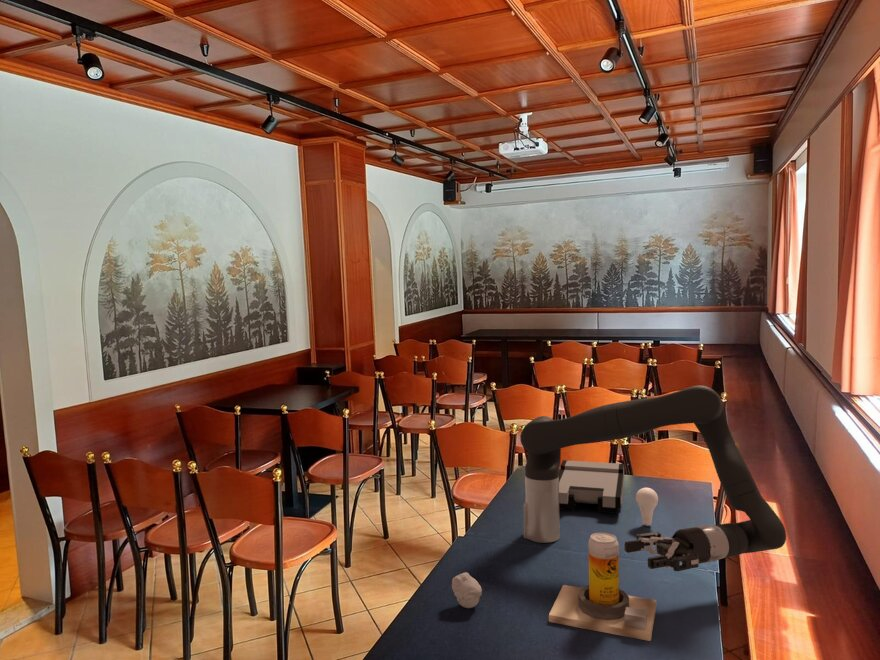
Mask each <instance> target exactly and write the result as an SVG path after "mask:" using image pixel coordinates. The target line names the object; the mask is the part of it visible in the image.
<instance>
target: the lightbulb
mask: <svg viewBox="0 0 880 660" xmlns="http://www.w3.org/2000/svg"><path fill="white" fill-rule="evenodd" d="M635 502H636V504H637V505H638V507H639V510H640V515H641V519H642V520H641V522H642V524H643V525H645V526H647V527H649V526H651V525H652V521H653V520H652V519H653V516H654V515H653V514H654V510H655V509H656V507H657V505H658V502H659V496H658V494H657V492H656V491H655V490H654V489H653V488H650V487H642V488H640V489H639V490H638V491H637V492H636V494H635Z"/></svg>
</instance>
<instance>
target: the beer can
mask: <svg viewBox="0 0 880 660" xmlns="http://www.w3.org/2000/svg"><path fill="white" fill-rule="evenodd" d="M619 545H620V544H619V540H618V539H617V536H616V535H614V534H611V533H608V532H594V533H592V534H591V535H590V537H589V539H588V585H589V601H590V602H592V603H594V604H599V605H605V606H608V605H617V604H619V589H620V575H619V574H620V566H619V565H620V562H619V561H620V555H619V553H620V552H619V551H620V550H619V549H620V548H619Z"/></svg>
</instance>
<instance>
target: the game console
mask: <svg viewBox="0 0 880 660" xmlns="http://www.w3.org/2000/svg"><path fill="white" fill-rule="evenodd" d="M624 479H625V463H613V462H599V461H598V462H597V461H582V460H580V461H579V460H567V459H565V460H564V459H563V460H562V462H560V467H559V509H561V508H569V509H568V510H573V509H575V508H576V507H575V506H577V504H579V503H581V504H592V505H593V504H594V505H597V512H598V511H600V512H599V513H608V512H612V514H619V510H620V509H621V508H622V506H623V497H624V496H623V495H624V482H625V481H624ZM576 502H577V503H576ZM575 510H576V509H575Z"/></svg>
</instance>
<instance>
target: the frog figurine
mask: <svg viewBox="0 0 880 660" xmlns="http://www.w3.org/2000/svg"><path fill="white" fill-rule="evenodd" d="M451 588H452V591H453V593H454V596H455V597H456V600H457V603H458V604H459V605H460V606H462V607H463V608H466V609H472V608H474V607H476V606H477V605H478V603H479V601H480V597H481V596H482V595H483V594H482V593H483V592H482V591H483V589H482V587H481V585H480V584H479V582H478V581H477V580H476V579H475V578H474V577H472V576H471V575H470V574H469V572H466V571H465V572H463V573H459V574H458V575H456V576H454V577H453V578H452V581H451Z"/></svg>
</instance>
